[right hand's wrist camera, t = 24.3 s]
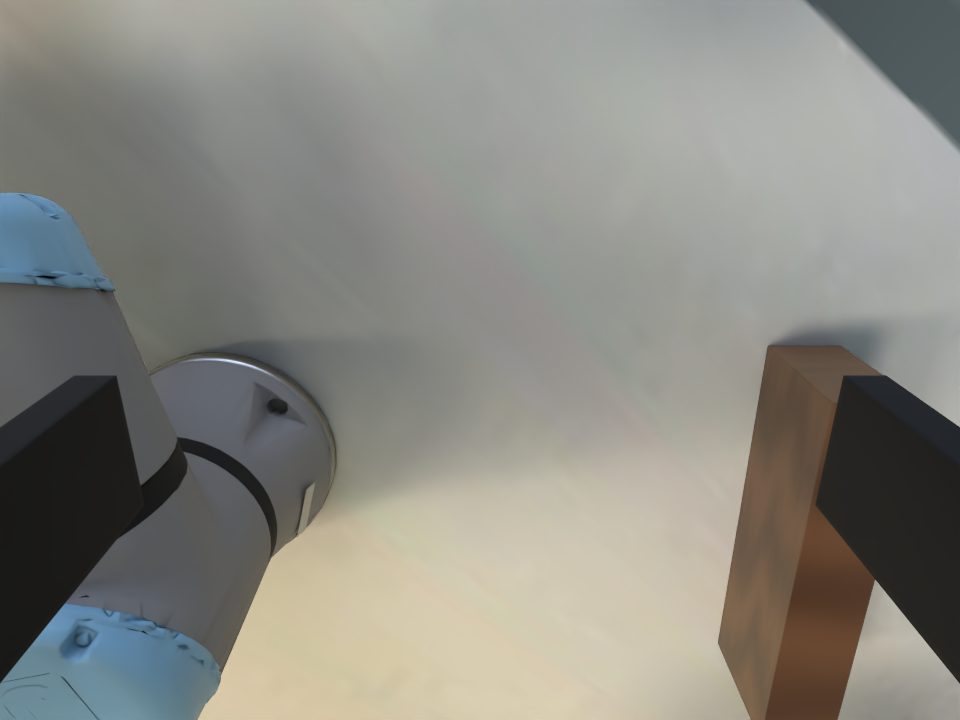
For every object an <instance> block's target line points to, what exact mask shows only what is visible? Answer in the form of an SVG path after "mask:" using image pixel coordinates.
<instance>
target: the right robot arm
mask: <svg viewBox="0 0 960 720" xmlns="http://www.w3.org/2000/svg"><path fill="white" fill-rule="evenodd" d="M113 291H115V288H114V285H113V283H112V282H111V281H110V280H109V279H107V278H105V277H104V275H103V273H102V271H101V269H100V268H99V266H98V264H97V262H96V260H95V258H94V257H93V255H92V253H91V251H90V249H89V247H88V245H87V243H86V241H85V239H84V237H83V235H82V233H81V231H80V229H79V227H78V225H77V224H76V222H75V221H74V219H73V218H72V217H71V216H70V214H69V213H68V212H67V211H65V210H64V209H63V208H62V207H61V206H59V205H57V204H56V203H54V202H52V201H51V200H48V199H46V198H44V197H40V196H37V195H33V194H27V193H0V720H197V719H198V717H199V715H200V713H201V712H202V710H203V708H204V706H205V704H206V703H207V702H208V701H209V700H210V698H211V697H212V696H213V695H214V694H215V693H216V691H217V689H218V686H219V684H220V679H221V677H220V676H221V674H222V672H223V669H224V667H225V664H226V662H227V660H228V657H229V655H230V653H231V650H232V648H233V646H234V643H235V641H236V639H237V636H238V634H239V632H240V629H241V627H242V625H243V622H244V620H245V617H246V615H247V613H248V610H249V608H250V606H251V603H252V601H253V599H254V596H255V594H256V592H257V589H258V587H259V585H260V582H261V580H262V578H263V575H264V573H265V570H266V568H267V566H268V563H269V561H270V559H271V557H273V556H274V555H275V554H276V553H277V552H278V551H279V550H280V549H281V548H282V547H283V546H284V545H285V544H287V543H288V542H290V541H291V540H293V539H294V538H295V537H298V536H299V535H300V534H301V533H302V532H303V531H304V530H305V529H306V528H307V526H308V525H309V524H310V523H311V522H312V520H313V519H314V518H315V516H316V515H317V513H318V512H319V510H320V509H321V507H322V505H323V504H324V501H325V499H326V497H327V495H328V492H329V489H330V487H331V484H332V481H333V477H334V472H335V462H336V459H335V447H334V441H333V437H332V433H331V431H330V428H329V425H328V423H327V421H326V419H325V417H324V415H323V413H322V412H321V410H320V408H319V407H318V405H317V404H316V403H315V402H314V400H313V399H312V398H311V397H310V396H309V394H308V393H307V392H306V391H305V390H304V389H303V388H302V387H301V386H299V385H298V384H297V383H296V382H295V381H293V380H292V379H291V378H289V377H288V376H287V375H285V374H284V373H282V372H280V371H279V370H277V369H275V368H273V367H271V366H269V365H267V364H265V363H262V362H260V361H257V360H254V359H251V358H248V357H244V356H240V355H235V354H227V353H200V354H193V355H188V356H184V357H180V358H178V359H175V360H172V361H170V362H168V363H166V364H163V365H162V366H160V367H158V368H157V369H155V370H154V371H152V372H151V373H150V374H148V372H147V370H146V368H145V365H144V363H143V361H142V358H141V356H140V354H139V352H138V349H137V347H136V345H135V342H134V340H133V338H132V335H131V333H130V331H129V329H128V326H127V324H126V322H125V319H124V317H123V315H122V313H121V310H120V308H119V306H118V303H117V301H116V299H115V297H114V294H113ZM815 505H816V507H817V508H818V509H819V510H820V512H821V513H822V514H823V515H824V516H825V518H826V519H827V520H828V521H829V523H830V524H831V525H832V526H833V528H834V529H835V530H836V531H837V533H838V534H839V535H840V536H841V537H842V539H843V540H844V541H845V542H846V544H847V545H848V546H849V547H850V549H851V550H852V551H853V552H854V554H855V555H856V556H857V557H858V558H859V560H860V561H861V562H862V563H863V565H864V566H865V567H866V568H867V570H868V571H869V572H870V573H871V574H872V576H873V577H874V578H875V579H876V581H877V582H878V583H879V584H880V586H881V587H882V588H883V589H884V591H885V592H886V593H887V594H888V595H889V597H890V598H891V599H892V600H893V602H894V603H895V604H896V605H897V607H898V608H899V609H900V610H901V612H902V613H903V614H904V615H905V616H906V618H907V619H908V620H909V621H910V623H911V624H912V625H913V626H914V628H915V629H916V630H917V631H918V633H919V634H920V635H921V636H922V637H923V639H924V640H925V641H926V642H927V644H928V645H929V646H930V647H931V649H932V650H933V651H934V652H935V654H936V655H937V656H938V657H939V658H940V660H941V661H942V662H943V663H944V665H945V666H946V667H947V668H948V670H949V671H950V672H951V673H952V674H953V676H954V677H955V678H956V679H957V681H958V682H959V683H960V427H959V426H957V425H956V424H954V423H953V422H952V421H950V420H949V419H947V418H946V417H944V416H943V415H942V414H940V413H939V412H937V411H936V410H934V409H933V408H932V407H930V406H929V405H927V404H926V403H924V402H923V401H922V400H920V399H919V398H917V397H916V396H914V395H913V394H912V393H910V392H909V391H907V390H906V389H904V388H903V387H902V386H900V385H899V384H897V383H896V382H894V381H893V380H892V379H890V378H889V377H887V376H886V375H843V380H842V384H841V389H840V393H839V398H838V403H837V407H836V412H835V416H834V421H833V426H832V430H831V435H830V440H829V444H828V449H827V453H826V458H825V463H824V467H823V472H822V476H821V481H820V486H819V490H818V495H817V499H816V504H815Z"/></svg>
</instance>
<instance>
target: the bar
mask: <svg viewBox="0 0 960 720" xmlns="http://www.w3.org/2000/svg"><path fill="white" fill-rule="evenodd" d="M843 375H882V374H880V373H879V372H877V371H876V370H875V369H873V368H872V367H870V366H869V365H868V364H866V363H865V362H863V361H862V360H860V359H859V358H858V357H856V356H855V355H853V354H852V353H850V352H849V351H848V350H846V349H845V348H843V347H842V346H768V349H767V355H766V361H765V367H764V373H763V379H762V385H761V391H760V397H759V403H758V408H757V414H756V420H755V426H754V432H753V438H752V444H751V450H750V456H749V462H748V468H747V474H746V480H745V486H744V492H743V498H742V504H741V510H740V516H739V522H738V528H737V533H736V539H735V545H734V551H733V557H732V563H731V569H730V575H729V581H728V587H727V593H726V599H725V605H724V611H723V617H722V623H721V629H720V635H719V641H718V644H719V647H720V649H721V651H722V653H723V656H724V658H725V660H726V663H727V665H728V667H729V670H730V672H731V674H732V677H733V679H734V681H735V684H736V686H737V688H738V691H739V693H740V695H741V697H742V700H743V702H744V704H745V707H746V709H747V711H748V714H749V716H750V718H751V720H838V716H839V712H840V709H841V705H842V701H843V697H844V694H845V690H846V686H847V682H848V679H849V675H850V671H851V667H852V664H853V660H854V656H855V652H856V649H857V645H858V641H859V637H860V634H861V630H862V626H863V622H864V619H865V615H866V611H867V607H868V604H869V600H870V596H871V592H872V589H873V585H874V581H875V578H874V577H873V576H872V574H871V573H870V572H869V571H868V570H867V568H866V567H865V566H864V565H863V563H862V562H861V561H860V560H859V558H858V557H857V556H856V555H855V554H854V552H853V551H852V550H851V549H850V547H849V546H848V545H847V544H846V542H845V541H844V540H843V539H842V537H841V536H840V535H839V534H838V533H837V531H836V530H835V529H834V528H833V526H832V525H831V524H830V523H829V521H828V520H827V519H826V518H825V516H824V515H823V514H822V513H821V512H820V510H819V509H818V508H817V507H816V505H815V504H816V499H817V495H818V490H819V486H820V481H821V476H822V472H823V467H824V463H825V458H826V453H827V449H828V444H829V440H830V435H831V430H832V426H833V421H834V416H835V412H836V407H837V403H838V398H839V393H840V389H841V384H842V380H843Z"/></svg>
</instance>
